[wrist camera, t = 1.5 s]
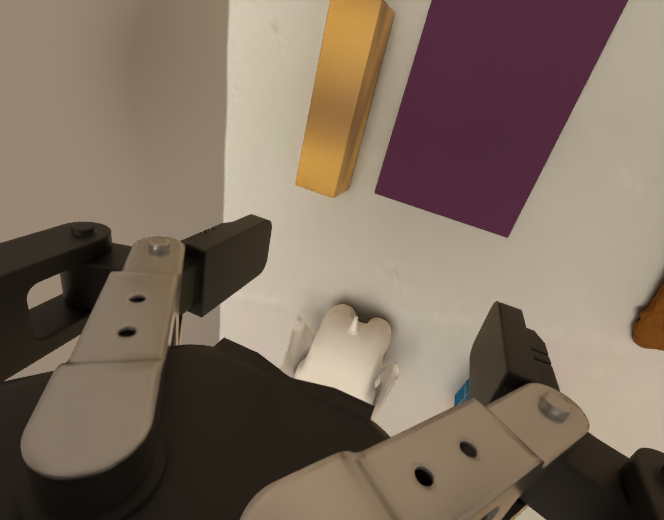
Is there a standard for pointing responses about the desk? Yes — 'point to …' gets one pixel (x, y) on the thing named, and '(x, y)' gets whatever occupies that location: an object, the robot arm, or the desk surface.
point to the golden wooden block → (343, 93)
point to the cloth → (490, 103)
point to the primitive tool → (651, 324)
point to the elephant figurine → (343, 356)
